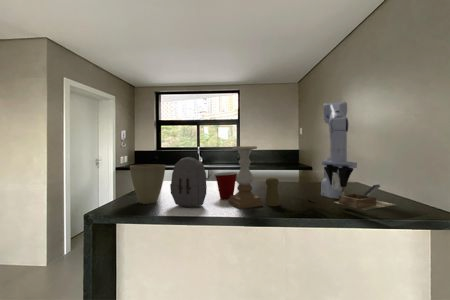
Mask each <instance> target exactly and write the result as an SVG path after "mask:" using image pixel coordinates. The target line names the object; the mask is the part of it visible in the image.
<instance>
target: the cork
mask: <svg viewBox="0 0 450 300" xmlns="http://www.w3.org/2000/svg"><path fill="white" fill-rule="evenodd" d="M279 181H280V180H279V178H277V177H267V178H266V180H265V184H266V193H265V201H264V205H265V206H268V207H279V206H280V205H281V204H280V198H279V197H280V195H279V189H278V188H279V187H278V185H279V183H280V182H279Z"/></svg>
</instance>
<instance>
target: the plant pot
mask: <svg viewBox="0 0 450 300" xmlns="http://www.w3.org/2000/svg"><path fill="white" fill-rule="evenodd" d="M129 171H130V176H131V177H130V178H131V181H132V186H133V188H134V192H135V194H136V198H137V200H138V203H139V204H141V203H142V204H143V205H150V203H151V204H154V203H157V202H158V200H159V196H160V194H161V192H162V191H161V190H162V187H163V184H164V180H165V179H164V178H165V172H166V164H158V163H157V164H156V163H154V164H150V163H149V164H147V163H146V164H134V165H133V164H132V165H130V166H129Z"/></svg>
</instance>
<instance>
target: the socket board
mask: <svg viewBox="0 0 450 300" xmlns="http://www.w3.org/2000/svg"><path fill="white" fill-rule="evenodd" d="M333 203H336V204H339V205H343V206H347V207H351V208H354V209H359V210H362V211H367V210H373V209H374V210H375V209H379V208H386V207H391V206H397V204H396V203H391V202H385V201H382V200H381V201H380V200H377V197H376V196H375V197H374V196H371V195H370V196H365V195H363V194H360V193H359V194H358V193H350V194H344V195H340V196H339V199H338V200H337V201H333Z"/></svg>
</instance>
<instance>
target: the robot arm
mask: <svg viewBox="0 0 450 300" xmlns="http://www.w3.org/2000/svg"><path fill="white" fill-rule="evenodd" d="M347 114H348V103H347V102H346V101H340V102H338V101H337V102H324V103H323V122H324V123H325V124H328V131H329V132H328V133H329V157H327V158H326V159H323V160H321V165H322V166H323V178H324V179H322V180H321V184H320V190H321V191H320V195H321V196H323V197H326V198H330V199H338V200H339V196H340V195H345V191H344V192H334V191H332V172H339V174H340V184H341V187H347V185H348V181H349V178H350V176H351V175H352V173H353V171H354V169H357V168H358V162H353V161H348V158H347V157H348V151H347V150H348V149H347V148H348V147H347V144H348V142H347V141H348V140H347V139H348V132H349V125H350V124H349V118H348V116H347Z"/></svg>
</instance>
